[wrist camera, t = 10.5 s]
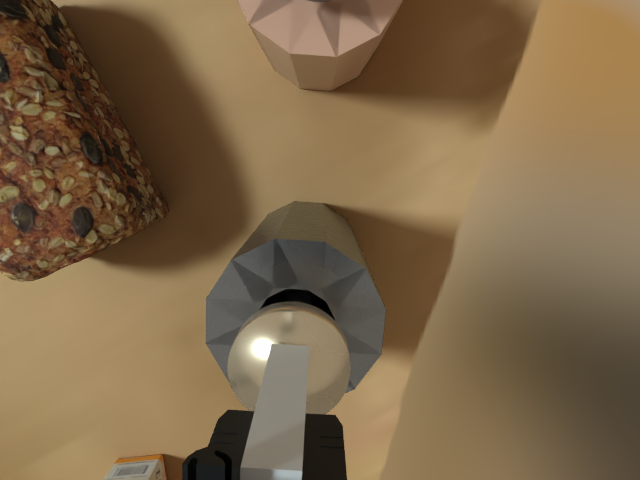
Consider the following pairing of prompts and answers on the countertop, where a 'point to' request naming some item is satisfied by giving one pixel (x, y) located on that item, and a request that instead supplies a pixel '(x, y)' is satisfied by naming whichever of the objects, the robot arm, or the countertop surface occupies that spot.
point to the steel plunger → (291, 329)
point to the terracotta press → (319, 37)
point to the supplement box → (138, 468)
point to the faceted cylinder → (300, 282)
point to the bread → (61, 150)
